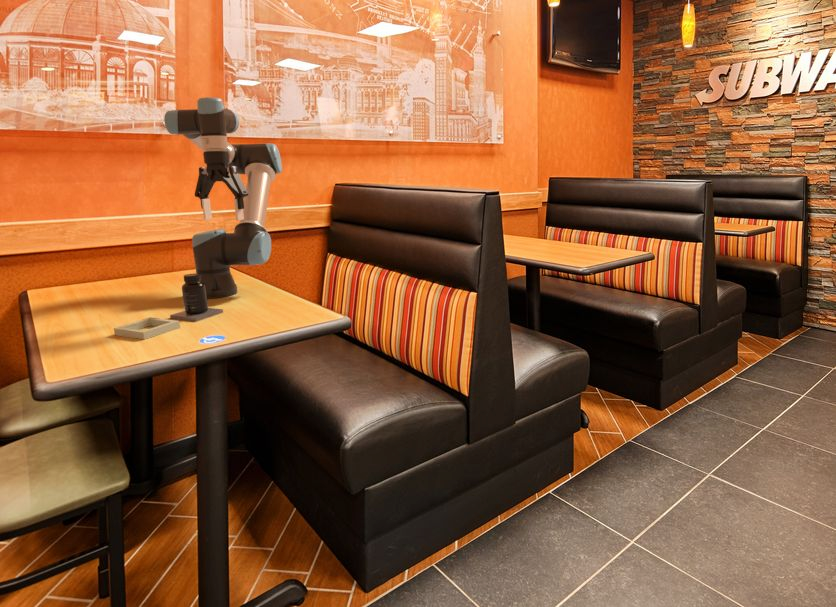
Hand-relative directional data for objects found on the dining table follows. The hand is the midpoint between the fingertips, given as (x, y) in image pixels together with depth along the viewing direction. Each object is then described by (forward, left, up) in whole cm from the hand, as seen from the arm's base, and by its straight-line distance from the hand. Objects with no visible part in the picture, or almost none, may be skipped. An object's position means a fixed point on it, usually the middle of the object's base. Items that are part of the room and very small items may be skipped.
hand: (223, 219), depth 174 cm
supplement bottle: (-3, -13, -28) cm, 31 cm away
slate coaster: (-3, -13, -29) cm, 32 cm away
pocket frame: (-3, -31, -29) cm, 42 cm away
